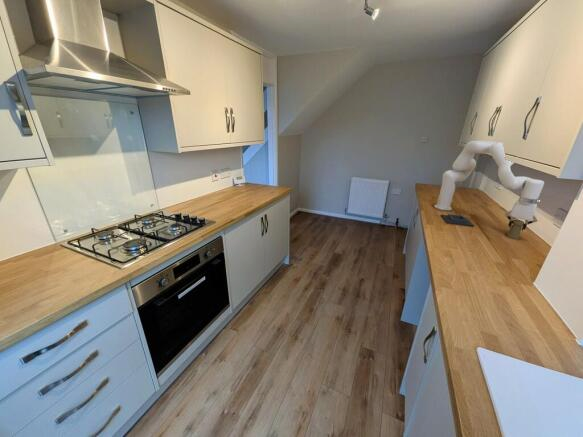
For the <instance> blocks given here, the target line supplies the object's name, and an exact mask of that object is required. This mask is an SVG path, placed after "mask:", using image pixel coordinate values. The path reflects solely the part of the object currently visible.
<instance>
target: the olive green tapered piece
mask: <svg viewBox="0 0 583 437" xmlns="http://www.w3.org/2000/svg"><path fill="white" fill-rule="evenodd" d="M524 224H525V221H523V220H522V219H513V222H512V225H511V227H510V229H509V230H508V232H507V233H506V237H507V238H510V239H513V240H514V239H515V240H519V239H520V237H521V236H520V235H521V231H522V227H523V225H524Z"/></svg>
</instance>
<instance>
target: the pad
mask: <svg viewBox="0 0 583 437" xmlns="http://www.w3.org/2000/svg"><path fill="white" fill-rule="evenodd" d="M440 216H441V218H442V219H443V220H444V222H445V223H446V224H449V225H456V226H465V227H471V228H472V227H474V224H473V223H472V221H470V220H469V219H468V218H467V217H465V216H464V215H462V214H461V215H460V214H453V213H451V214H450V213H448V214H441V215H440Z"/></svg>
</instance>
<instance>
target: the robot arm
mask: <svg viewBox="0 0 583 437" xmlns="http://www.w3.org/2000/svg"><path fill="white" fill-rule="evenodd" d="M495 141H496V140H471V141H468V142H467V143H466V144H465V146H464V147H463V149H462V150H461V152H460V153H459V155H457V157H456V159H455V160H454V162H453V163H452V169H449V170H446V171H444V172H443V174H442V182H441V187H440V190H439V194H438V198H437V202H436V204H434V205H433V207H434V208H435V209H437V210H441V211H452V209H453V208H452V206H451V205H452V201H453V197H454V194H455V191H456V183H460V182H464V181H466V180H467V178H468V177H469V176H470V175H471V174H472V172H473V171H474V170H475V168H476V166H477V161H476V160H475V158H474V157H475V154H480V155H481V154H482V155H484V154H485V155H486V154H487V155H489V154H490V156H491V157H492V159H493V160H494V162H495V163H496V165H497V166H498V169H497V177H498V179H499V181H500V183H501V184H502V186H503V187H504V188H505V189H508V190H522V191H521V194H520V196H519V198H518V200H516V201H515V203H514V204H513V206H512V209H511V210H509V211H507V212H505V213H504V216H505V217H506V218H507V219H508V221H509V222H508V224H507V226H508V228H511V227H512V225H513V224H512V222H513V221H514V220H515V219H518V220H524V225H523V226H522V227H521V231H523V232H524V230H526V228H527V226H528V225H531V224H534V223H537V222H539V221H538V219H537V217H536V215H535V214H536V211H537V208H538V204H540V203H541V200H540V199H539V197H540V194H541V193H542V190H543V188H544V186H545V181H544V180H542V179H538V178H537V179H536V178H531V177H528V176H515V175H514V173H513V172H512V169H511V167H512V166H513V165H514V164H515V163H514V162H511V161H508V160H505V159H504V157H505V153H504V147H503V143H502V142H503V141H497V142H498V143H496V142H495ZM537 203H538V204H537Z"/></svg>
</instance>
